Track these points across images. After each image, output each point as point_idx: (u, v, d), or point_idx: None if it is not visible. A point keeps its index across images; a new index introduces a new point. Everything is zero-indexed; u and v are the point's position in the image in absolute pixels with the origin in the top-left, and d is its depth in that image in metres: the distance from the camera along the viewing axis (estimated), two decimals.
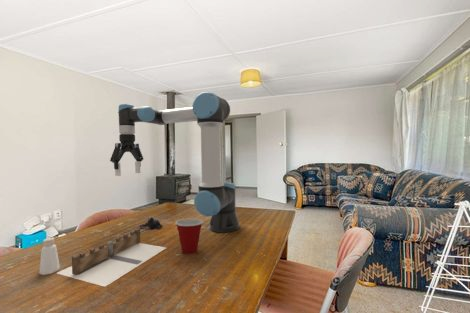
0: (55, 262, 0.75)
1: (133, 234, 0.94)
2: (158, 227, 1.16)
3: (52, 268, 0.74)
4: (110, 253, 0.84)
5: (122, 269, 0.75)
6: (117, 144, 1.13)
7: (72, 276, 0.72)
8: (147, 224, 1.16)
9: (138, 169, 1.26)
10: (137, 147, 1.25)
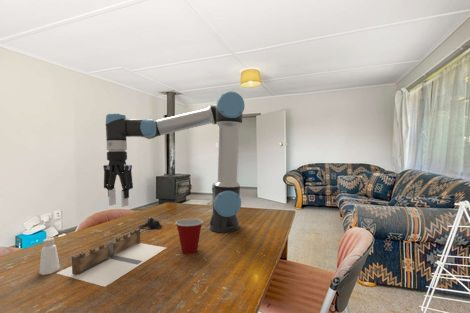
0: (55, 262, 0.75)
1: (133, 234, 0.94)
2: (158, 227, 1.16)
3: (52, 268, 0.74)
4: (110, 253, 0.84)
5: (122, 269, 0.75)
6: (130, 167, 0.94)
7: (72, 276, 0.72)
8: (147, 224, 1.16)
9: (114, 199, 0.98)
10: None
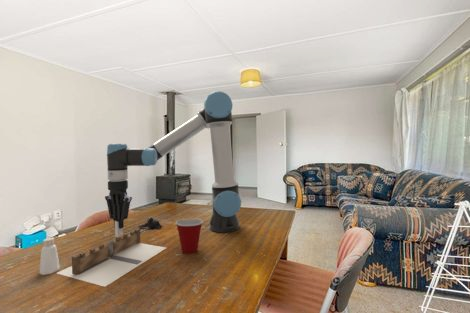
0: (55, 262, 0.75)
1: (133, 234, 0.94)
2: (158, 227, 1.16)
3: (52, 268, 0.74)
4: (110, 253, 0.84)
5: (122, 269, 0.75)
6: (129, 199, 0.94)
7: (72, 276, 0.72)
8: (147, 224, 1.16)
9: None
10: None
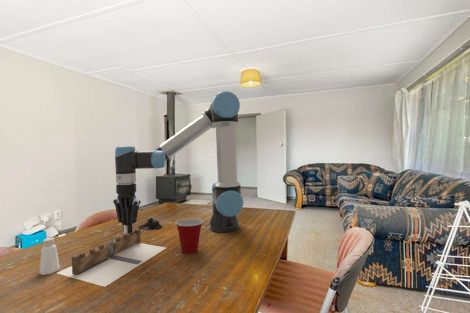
0: (55, 262, 0.75)
1: (133, 234, 0.94)
2: (157, 227, 1.15)
3: (52, 268, 0.74)
4: (110, 253, 0.84)
5: (122, 269, 0.75)
6: (138, 203, 0.92)
7: (72, 276, 0.72)
8: (146, 224, 1.15)
9: None
10: None
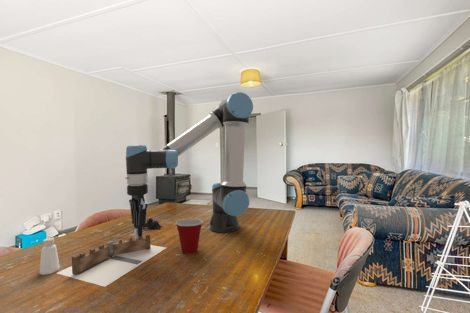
0: (55, 262, 0.75)
1: (140, 239, 0.89)
2: (157, 228, 1.15)
3: (52, 268, 0.74)
4: (108, 253, 0.84)
5: (122, 269, 0.75)
6: (144, 207, 0.86)
7: (72, 276, 0.72)
8: (146, 225, 1.15)
9: None
10: None
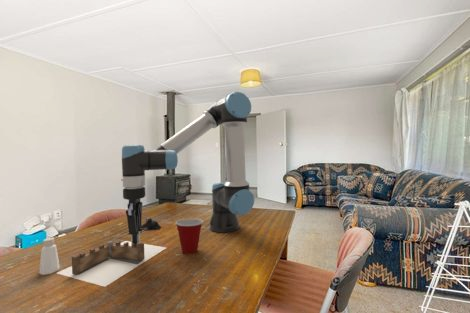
0: (55, 262, 0.75)
1: (133, 247, 0.81)
2: (156, 228, 1.15)
3: (52, 268, 0.74)
4: None
5: (122, 269, 0.75)
6: (130, 213, 0.78)
7: (72, 276, 0.72)
8: (145, 225, 1.15)
9: None
10: (141, 206, 0.88)
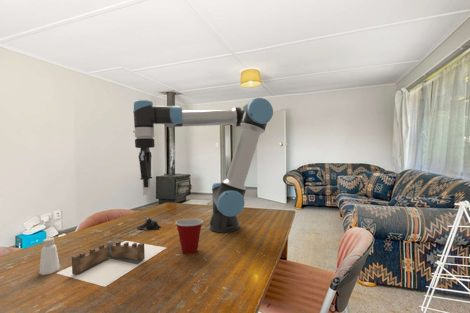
0: (55, 262, 0.75)
1: (133, 247, 0.82)
2: (156, 228, 1.14)
3: (52, 268, 0.74)
4: None
5: (122, 269, 0.75)
6: (142, 158, 0.89)
7: (72, 276, 0.72)
8: (145, 225, 1.14)
9: None
10: None
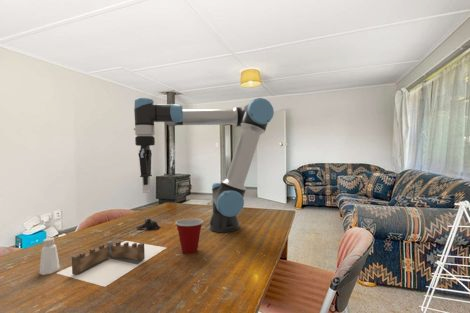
0: (55, 262, 0.75)
1: (133, 247, 0.82)
2: (155, 228, 1.14)
3: (52, 268, 0.74)
4: None
5: (122, 269, 0.75)
6: (142, 155, 0.89)
7: (72, 276, 0.72)
8: (144, 225, 1.14)
9: None
10: (150, 156, 1.00)
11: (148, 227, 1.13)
